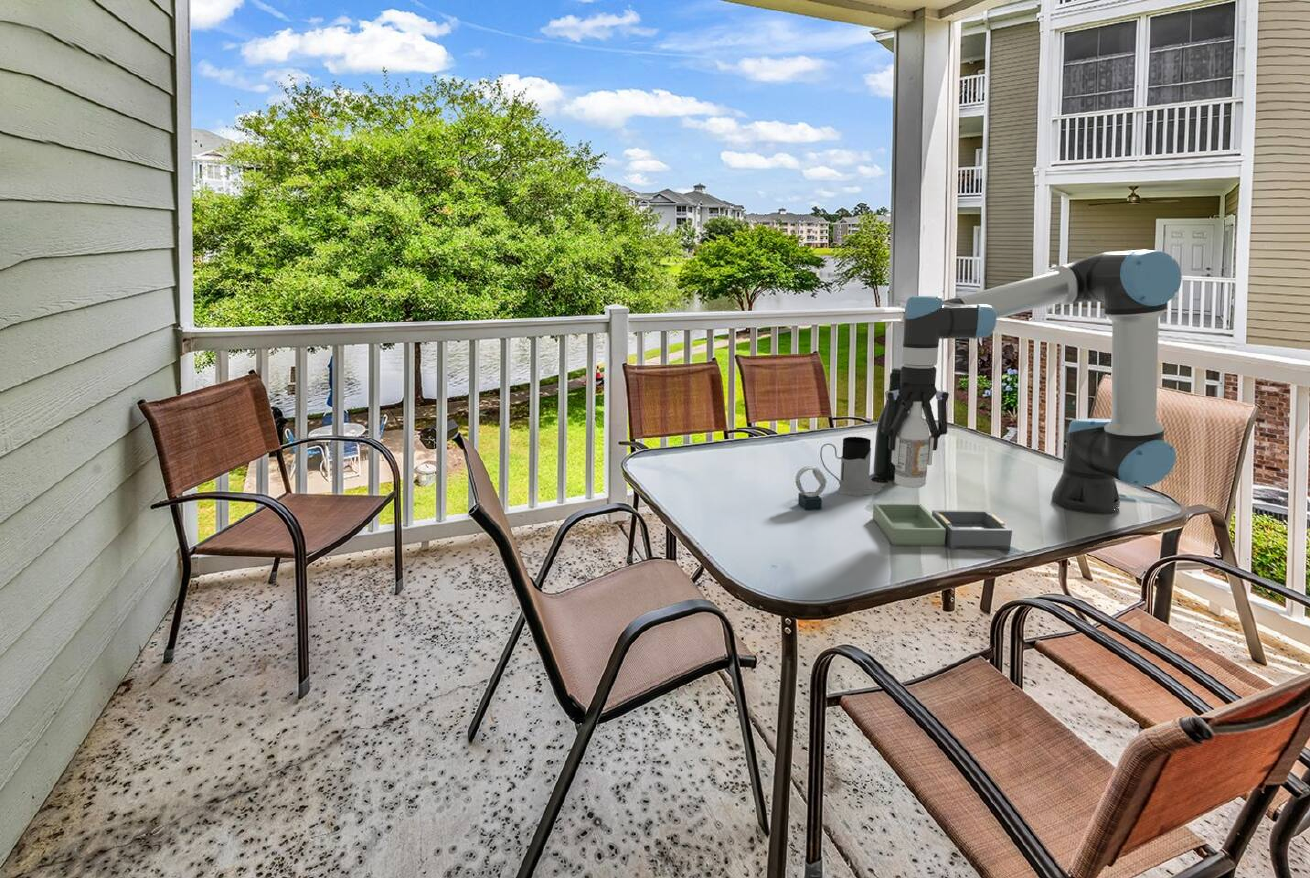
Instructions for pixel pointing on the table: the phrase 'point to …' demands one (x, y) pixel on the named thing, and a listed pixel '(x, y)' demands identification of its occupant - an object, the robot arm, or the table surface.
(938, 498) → the table surface
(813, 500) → the watch
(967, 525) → the plate
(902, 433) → the bath foam
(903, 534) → the green tray
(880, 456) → the wine bottle
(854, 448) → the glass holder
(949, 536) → the gray square tray
